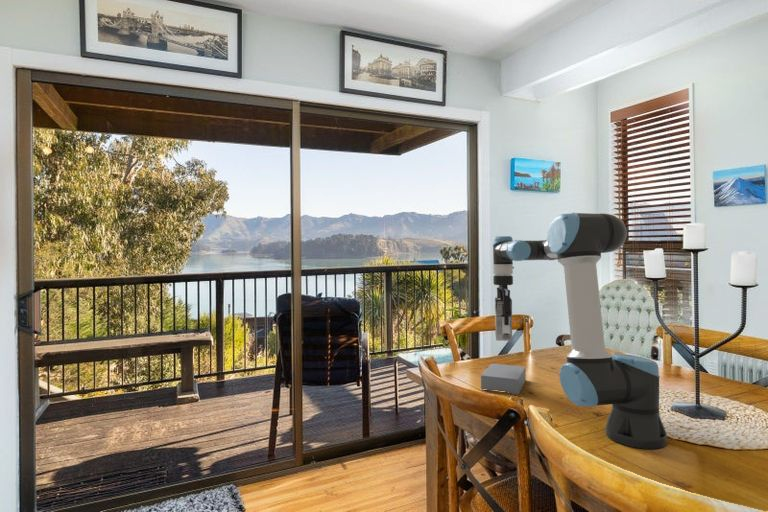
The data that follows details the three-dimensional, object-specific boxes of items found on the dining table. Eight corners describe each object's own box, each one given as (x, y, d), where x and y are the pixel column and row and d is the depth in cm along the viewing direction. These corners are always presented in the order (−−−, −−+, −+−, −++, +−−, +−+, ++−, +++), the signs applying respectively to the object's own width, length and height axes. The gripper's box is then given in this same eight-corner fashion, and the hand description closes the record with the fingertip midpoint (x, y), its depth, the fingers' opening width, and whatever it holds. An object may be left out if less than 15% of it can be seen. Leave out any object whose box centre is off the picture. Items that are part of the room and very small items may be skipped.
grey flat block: (518, 395, 167) (518, 379, 167) (481, 390, 173) (480, 375, 173) (525, 381, 185) (525, 366, 185) (491, 377, 191) (491, 363, 191)
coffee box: (494, 336, 184) (494, 297, 184) (511, 336, 183) (510, 297, 183) (495, 340, 175) (495, 299, 175) (512, 341, 174) (512, 299, 174)
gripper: (519, 276, 167) (519, 336, 168) (506, 273, 189) (507, 326, 189) (498, 276, 168) (499, 336, 168) (489, 273, 190) (489, 326, 190)
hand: (503, 331), depth 179 cm, fingers closed on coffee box, 9 cm apart
